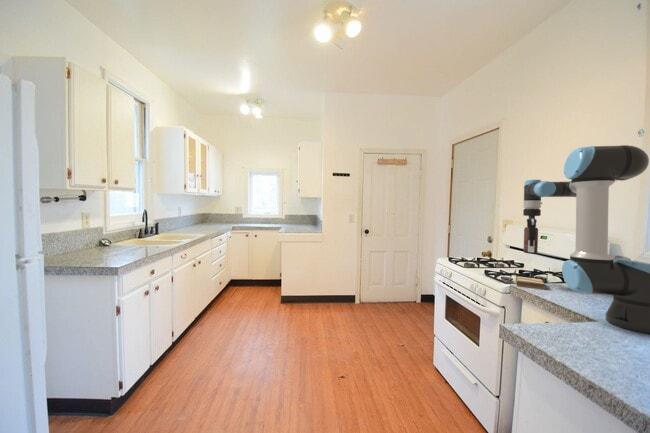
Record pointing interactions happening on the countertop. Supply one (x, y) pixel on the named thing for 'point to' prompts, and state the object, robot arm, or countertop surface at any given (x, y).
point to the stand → (530, 283)
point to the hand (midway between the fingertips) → (530, 251)
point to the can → (526, 236)
